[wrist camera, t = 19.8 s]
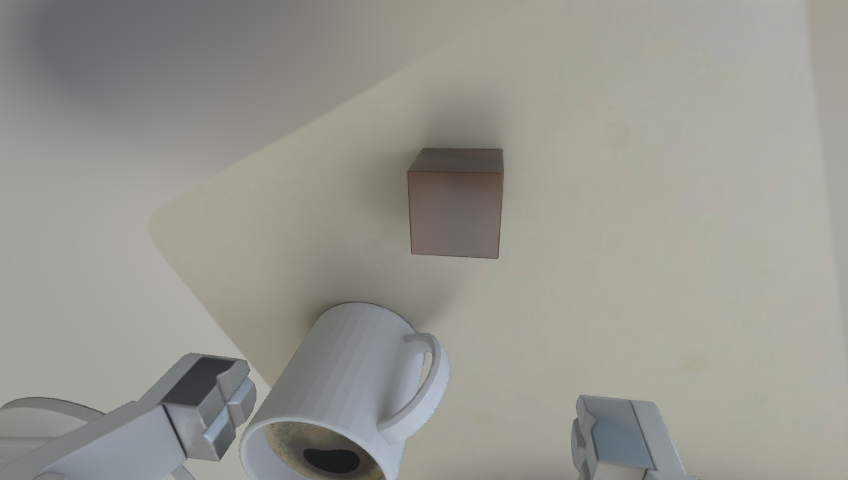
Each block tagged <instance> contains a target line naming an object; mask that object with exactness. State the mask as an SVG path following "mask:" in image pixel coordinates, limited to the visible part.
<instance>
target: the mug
mask: <svg viewBox="0 0 848 480" xmlns="http://www.w3.org/2000/svg"><path fill="white" fill-rule="evenodd" d="M424 352H430V353H432V356H433V359H432V366H431V369H430V372H429V374H428V376H427V378H426V380H425V382H424V383H423V385H422V386H421V388H420V389H419V391H418V392H417V390H418V385H419V381H420V377H421V373H422V368H423V364H424ZM449 375H450V361H449V357H448V355H447V353H446V351H445V350H444V348H443V347H442V345H441V344H440V343H439V341H438V340H437V339H436V338H435V337H434V336H433V335H431V334H428V333H415V331H414V330H413V329H412V327H411V326H410V325H409V324H408V323H407V322H406V321H405V320H403V319H402V318H401V317H399V316H398V315H397V314H395V313H393V312H391V311H389V310H387V309H385V308H383V307H380V306H377V305H373V304H369V303H360V302H354V303H345V304H340V305H338V306H335V307H332V308H331V309H329V310H327V311H325V312H324V313H323V314H322V315H321V316H320V317H319V318H318V319H317V321H316V322H315V324H314V325H313V327H312V328H311V330H310V331H309V333H308V334H307V336H306V337H305V339H304V341H303V342H302V344H301V345H300V347H299V348H298V350H297V351H296V353H295V354H294V356H293V357H292V359H291V360H290V362H289V363H288V365H287V367H286V368H285V370H284V371H283V373H282V374H281V376H280V377H279V379H278V380H277V382H276V383H275V385H274V386H273V388H272V390H271V391H270V393H269V394H268V396H267V397H266V399H265V400H264V402H263V403H262V405H261V407H260V408H259V410H258V411H257V413H256V414H255V416H254V417H253V419H252V420H251V422H250V423H249V425H248V426H247V428H246V430H245V431H244V433H243V434H242V437H241V439H240V444H239V457H240V461H241V464H242V466H243V468H244V470H245V472H246V474H247V475H248V476H249V478H250V479H251V480H396V479H397V475H398V471H399V466H400V462H401V458H402V454H403V449H404V445H405V441H406V438H408V437H410V436H411V435H412V434H414V433H415V432H416V431H418V430H419V429H420V428H421V427H422V426H423V425H424V424H425V423H426V422H427V420H428V419H429V418H430V417H431V415H432V414H433V413H434V411H435V410H436V408H437V406H438V405H439V403H440V401H441V399H442V397H443V395H444V392H445V389H446V387H447V384H448V380H449Z"/></svg>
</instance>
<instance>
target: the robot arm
mask: <svg viewBox="0 0 848 480" xmlns="http://www.w3.org/2000/svg"><path fill="white" fill-rule="evenodd" d="M249 371H250V369H249V366H248V363H247V361H246V360H241V359H236V358H228V357H221V356H214V355H204V354H197V353H189V354H186V355H184V356H183V357H182V358H181V359H180V360H179V361H178V362H177V363H176V364H175V365H174V366H173V367H172V368H171V369H170V370H169V371H168V372H167V373H166V374H165V375H164V376H163V377H162V378H161V379H160V380H159V381H158V382H157V383H156V384H155V385H154V386H153V387H152V388H151V389H150V390H148V391H147V392H146V394H145V395H143V397H141V398H140V400H138V401H137V402H136V401H131V402H129V403H127V404H125V405H123V406H121V407H119V408H117V409H115V410H113V411H111V412H109V413H107V414H105V415H103V416H101V417H99V418H97V419H95V420H93V421H91V422H89V423H87V424H85V425H83V426H81V427H79V428H77V429H75V430H73V431H71V432H69V433H67V434H65V435H63V436H61V437H59V438H0V480H161V479H163V478H164V477H165V476H167V475H168V474H169V473H171V472H172V471H173V470H175V469H176V468H177V467H178V466H180V465H181V464H182V463H184V462H185V461H186V460H187V458H194V459H202V460H210V461H218V462H219V461H220V460H221V458H222V457H223V455H224V454H225V452H226V451H227V449H228V448H229V446H230V445H231V443H232V442H233V440H234V439H235V437H236V433H235V428H237V427H238V426H239V425H241V424H243V423H244V422H246V421H247V419H248V417H249V416H250V414H251V413H252V411H253V408H254V405H255V402H256V388H255V384H254V383H253V382H252V381H251V380H250V379H249V378H248V377H247V375H248V373H249ZM576 409H577V415H578V418H576V419H575V420H574V421H573V426H572V435H571V447H572V456H573V463H574V466H575V467H576V469H577V470H578V471H579V472H580V476H579V480H699V479H698V478H697V477H696V476H692V475H687V474H686V472H685V470H684V467H683V465H682V463H681V460H680V458H679V456H678V453H677V451H676V449H675V446H674V444H673V442H672V439H671V437H670V435H669V432H668V430H667V428H666V425H665V423H664V421H663V418H662V416H661V414H660V411H659V409H658V407H657V406H656V405H655V404H654V402H647V401H637V400H626V399H618V398H607V397H597V396H586V395H580V396H579V397H578V400H577V405H576Z"/></svg>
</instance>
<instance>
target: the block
mask: <svg viewBox="0 0 848 480" xmlns="http://www.w3.org/2000/svg"><path fill="white" fill-rule="evenodd" d="M407 174H408V195H409V216H410V236H411V253H412V254H421V255H438V256H456V257H474V258H491V259H498V257H499V241H500V225H501V209H502V193H503V177H504V166H503V150H502V149H430V148H424V149H423V150H422V151H421V153H420V154H419V156H418V157H417V159H416V160H415V161H414V163H413V164H412V166H411V167H410V168H409V170H408V172H407Z"/></svg>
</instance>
